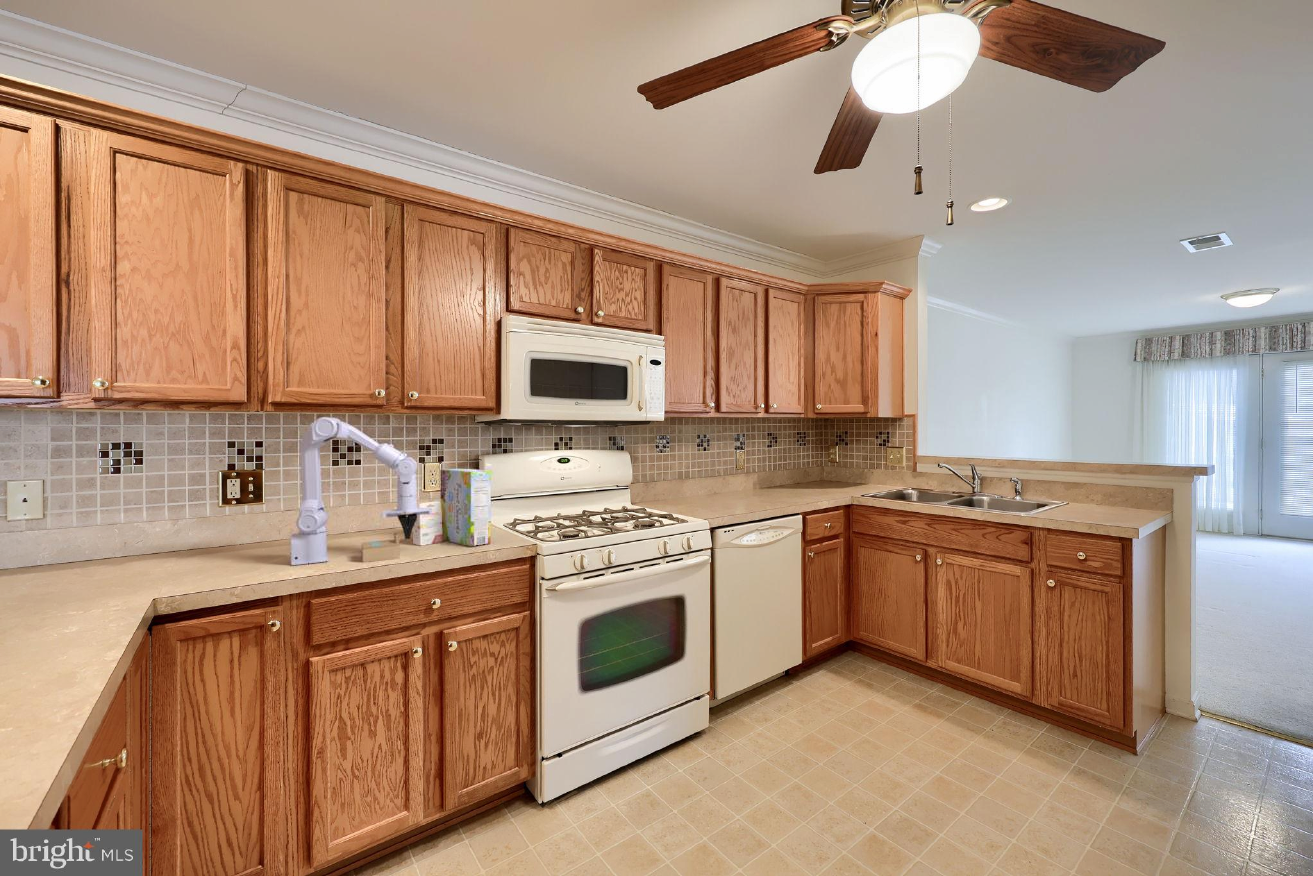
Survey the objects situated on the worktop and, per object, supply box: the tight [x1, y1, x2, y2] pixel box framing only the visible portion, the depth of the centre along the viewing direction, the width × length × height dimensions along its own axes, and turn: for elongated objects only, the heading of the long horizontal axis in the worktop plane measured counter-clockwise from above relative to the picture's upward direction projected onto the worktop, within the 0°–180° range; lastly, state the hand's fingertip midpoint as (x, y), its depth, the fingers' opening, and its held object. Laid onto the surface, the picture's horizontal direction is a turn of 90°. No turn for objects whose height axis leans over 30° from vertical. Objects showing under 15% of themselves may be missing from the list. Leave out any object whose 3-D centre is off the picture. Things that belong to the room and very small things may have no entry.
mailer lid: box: [361, 532, 400, 549], centre depth 174 cm, size 10×8×3 cm
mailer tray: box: [361, 545, 401, 563], centre depth 174 cm, size 10×8×4 cm
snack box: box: [439, 468, 492, 547], centre depth 199 cm, size 22×9×26 cm, turn 49°
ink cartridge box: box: [412, 500, 443, 546], centre depth 196 cm, size 9×5×15 cm, turn 143°
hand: (407, 538), depth 178 cm, fingers closed
